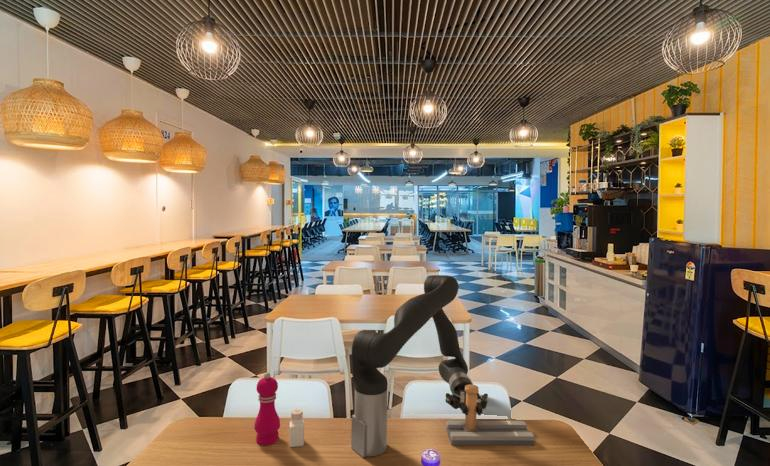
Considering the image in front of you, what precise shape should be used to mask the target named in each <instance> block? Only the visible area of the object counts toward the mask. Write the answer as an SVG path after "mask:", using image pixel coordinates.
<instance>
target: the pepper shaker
mask: <svg viewBox="0 0 770 466" xmlns="http://www.w3.org/2000/svg"><path fill="white" fill-rule="evenodd" d="M303 418H304V415H303V410H302V409H299V408H297V409H293V410H291V411H290V419H291V420H289V447H291V448H295V447H296V448H298V447H304V446H305V445H304V444H305V420H303Z"/></svg>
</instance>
